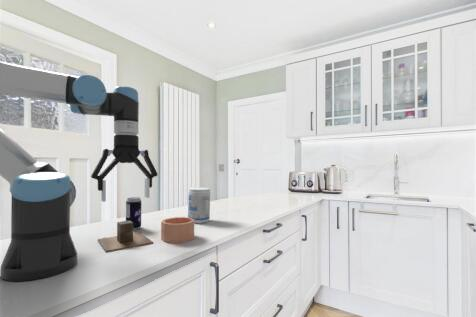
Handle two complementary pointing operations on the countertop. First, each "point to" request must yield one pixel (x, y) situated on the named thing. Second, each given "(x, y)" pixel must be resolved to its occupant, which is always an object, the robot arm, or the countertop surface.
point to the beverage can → (134, 211)
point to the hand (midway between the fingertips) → (126, 199)
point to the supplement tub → (199, 204)
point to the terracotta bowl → (177, 229)
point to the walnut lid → (124, 238)
